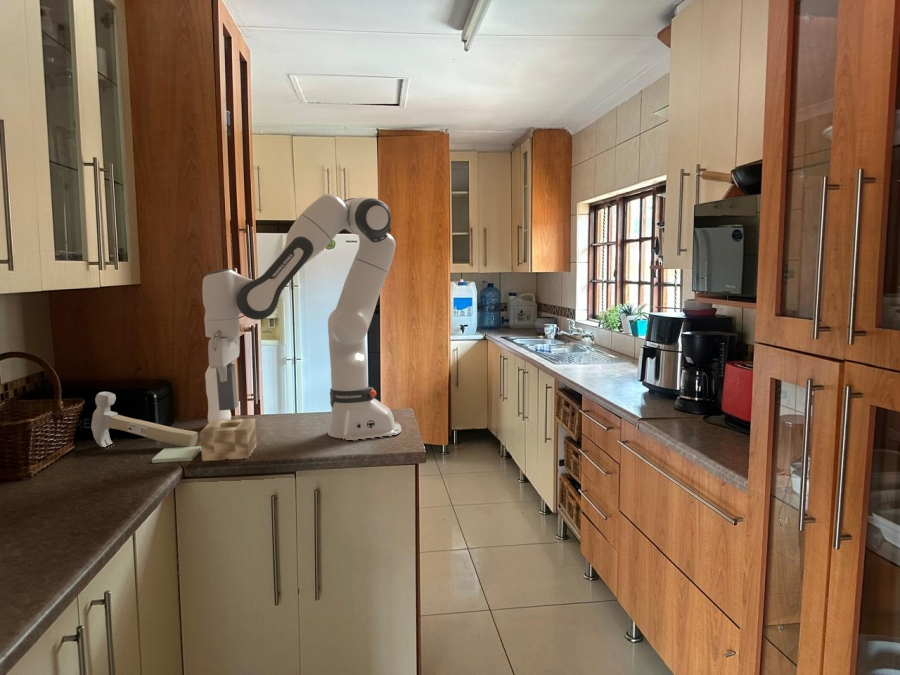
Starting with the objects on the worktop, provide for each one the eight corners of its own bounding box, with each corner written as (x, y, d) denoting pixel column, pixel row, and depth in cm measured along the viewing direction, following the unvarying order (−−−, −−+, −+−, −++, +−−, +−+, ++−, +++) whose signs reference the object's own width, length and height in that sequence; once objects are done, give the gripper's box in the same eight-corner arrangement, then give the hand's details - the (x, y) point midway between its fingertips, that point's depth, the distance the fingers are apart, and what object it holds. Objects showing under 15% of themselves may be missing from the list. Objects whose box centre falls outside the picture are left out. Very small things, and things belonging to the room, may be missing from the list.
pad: (201, 449, 169) (201, 446, 169) (191, 460, 159) (191, 456, 159) (164, 451, 168) (164, 448, 168) (152, 462, 158) (151, 459, 158)
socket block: (256, 445, 172) (255, 418, 171) (248, 458, 160) (246, 429, 160) (213, 447, 171) (211, 420, 170) (202, 461, 159) (200, 431, 158)
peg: (237, 406, 166) (234, 363, 165) (234, 409, 162) (231, 366, 161) (222, 407, 166) (219, 364, 164) (219, 410, 162) (215, 367, 161)
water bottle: (203, 426, 194) (198, 351, 191) (223, 422, 200) (219, 348, 197) (216, 430, 190) (211, 352, 187) (236, 425, 195) (231, 350, 193)
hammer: (202, 413, 172) (104, 390, 174) (194, 417, 168) (93, 393, 169) (193, 464, 174) (97, 441, 176) (185, 469, 170) (86, 445, 171)
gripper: (225, 333, 152) (229, 386, 153) (242, 325, 172) (245, 372, 174) (200, 334, 151) (204, 387, 153) (219, 326, 171) (223, 373, 173)
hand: (226, 379), depth 163 cm, fingers closed on peg, 4 cm apart
